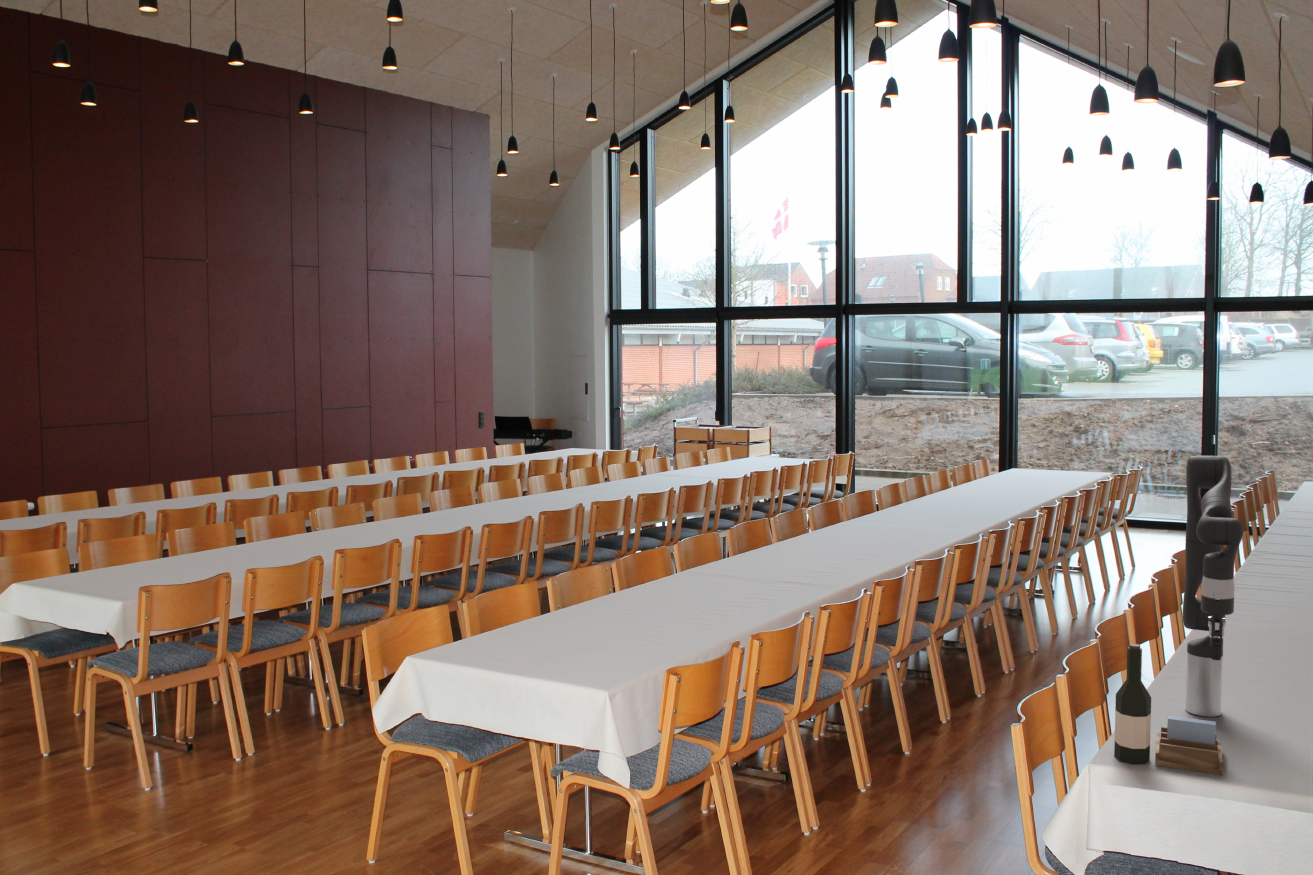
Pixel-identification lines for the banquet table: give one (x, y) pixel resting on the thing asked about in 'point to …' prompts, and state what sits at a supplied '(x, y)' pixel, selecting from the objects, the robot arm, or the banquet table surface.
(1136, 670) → the wine bottle
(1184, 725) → the light blue flat block
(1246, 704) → the banquet table surface
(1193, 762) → the rack
